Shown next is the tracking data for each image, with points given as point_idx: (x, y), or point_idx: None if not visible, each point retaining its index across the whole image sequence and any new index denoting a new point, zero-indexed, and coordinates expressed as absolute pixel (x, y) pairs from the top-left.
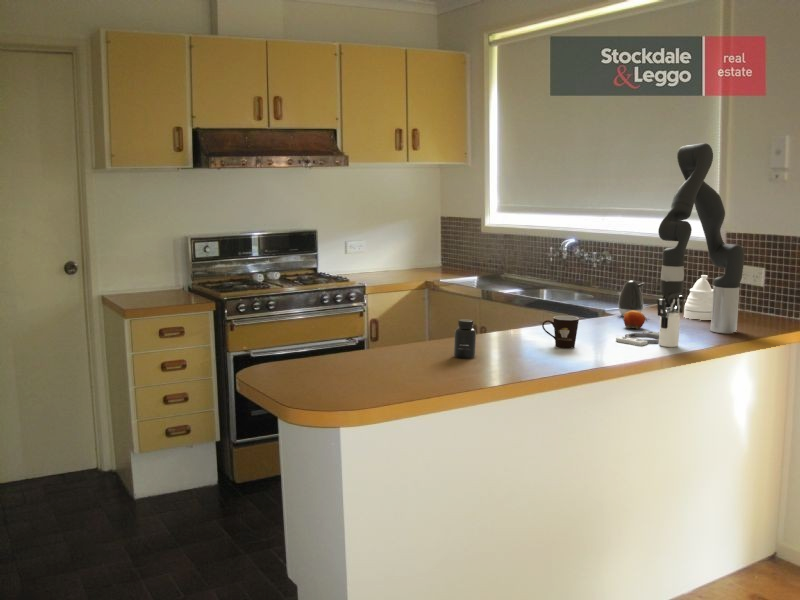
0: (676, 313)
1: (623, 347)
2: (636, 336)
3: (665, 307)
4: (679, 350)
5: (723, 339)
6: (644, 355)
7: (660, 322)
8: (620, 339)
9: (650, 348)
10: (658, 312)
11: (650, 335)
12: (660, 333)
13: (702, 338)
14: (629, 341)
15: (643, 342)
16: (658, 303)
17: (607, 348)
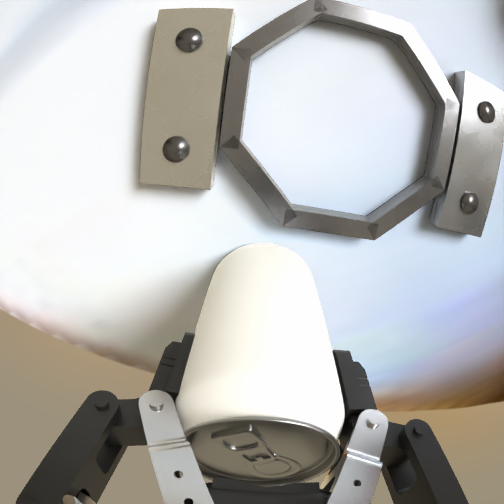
0: None
1: (58, 135)
2: (401, 48)
3: (98, 490)
4: None
5: (492, 367)
6: (20, 278)
7: (203, 340)
8: (154, 38)
9: (130, 244)
10: (80, 416)
11: (439, 123)
12: (210, 295)
13: (496, 320)
14: (147, 101)
15: (166, 184)
16: (34, 483)
17: (7, 105)
